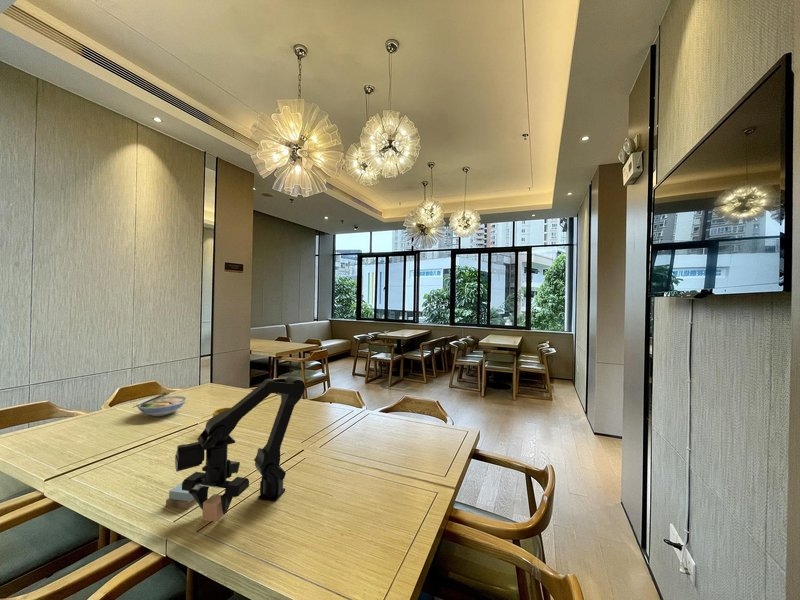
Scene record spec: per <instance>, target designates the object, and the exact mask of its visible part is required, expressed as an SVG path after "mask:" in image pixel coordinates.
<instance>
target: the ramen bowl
mask: <svg viewBox="0 0 800 600" xmlns="http://www.w3.org/2000/svg"><path fill="white" fill-rule="evenodd" d="M187 399H188V398H187V396H185V395H176V394H174V395H170V392H167V393H166V392H164V393H162V394H159V395H157V396H155V397H150V398H146V399H143V400H140V401H139V402H137V403H136V405H134V406H133V407H132V408H136V407H137V409H138V410H139V411H140V412H141V413H143V414H146V415H148V416H153V417H165V416H168V415H170V414H172V413H175V412H177V410H179V409H181V408H182V407H183V405H184V404H185V403H186V401H187ZM132 408H131V409H132Z"/></svg>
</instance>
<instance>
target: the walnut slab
mask: <svg viewBox="0 0 800 600" xmlns="http://www.w3.org/2000/svg"><path fill="white" fill-rule="evenodd" d="M196 504H198V503H197V501H196V500H195V499H194V498H193V499H191V500H190V501H189V502H188V501H181V500H174V499H169V497H168V498H167V499H166V500H165V506H166V507H169V508H170V507H171V508H176V509H185V510H189V509H191V508H192V507H193V506H194V505H196Z"/></svg>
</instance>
